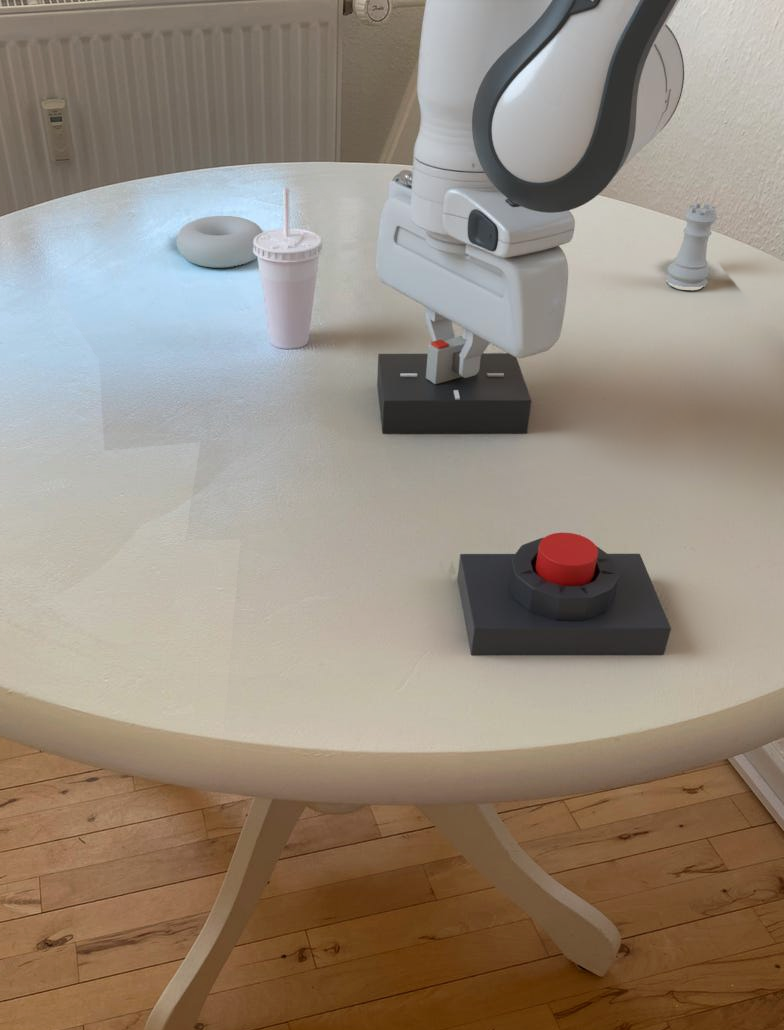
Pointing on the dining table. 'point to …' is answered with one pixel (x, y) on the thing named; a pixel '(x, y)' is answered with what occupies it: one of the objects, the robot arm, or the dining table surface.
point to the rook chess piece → (693, 249)
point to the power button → (566, 559)
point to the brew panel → (452, 397)
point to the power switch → (560, 607)
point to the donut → (218, 241)
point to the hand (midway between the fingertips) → (454, 367)
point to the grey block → (443, 359)
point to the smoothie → (288, 279)
